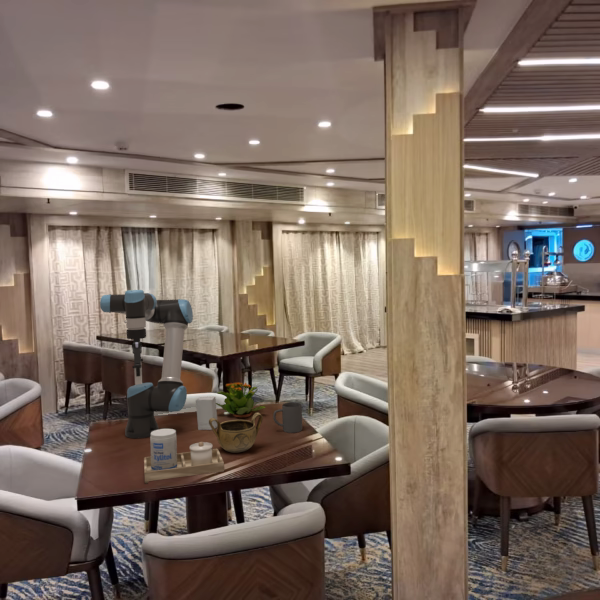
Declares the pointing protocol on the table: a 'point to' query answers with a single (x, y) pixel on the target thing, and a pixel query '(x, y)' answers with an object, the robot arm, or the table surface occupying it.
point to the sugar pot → (201, 453)
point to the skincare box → (206, 412)
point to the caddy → (183, 467)
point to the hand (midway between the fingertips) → (138, 381)
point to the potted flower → (239, 400)
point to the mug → (290, 417)
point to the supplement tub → (163, 449)
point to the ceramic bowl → (237, 433)
